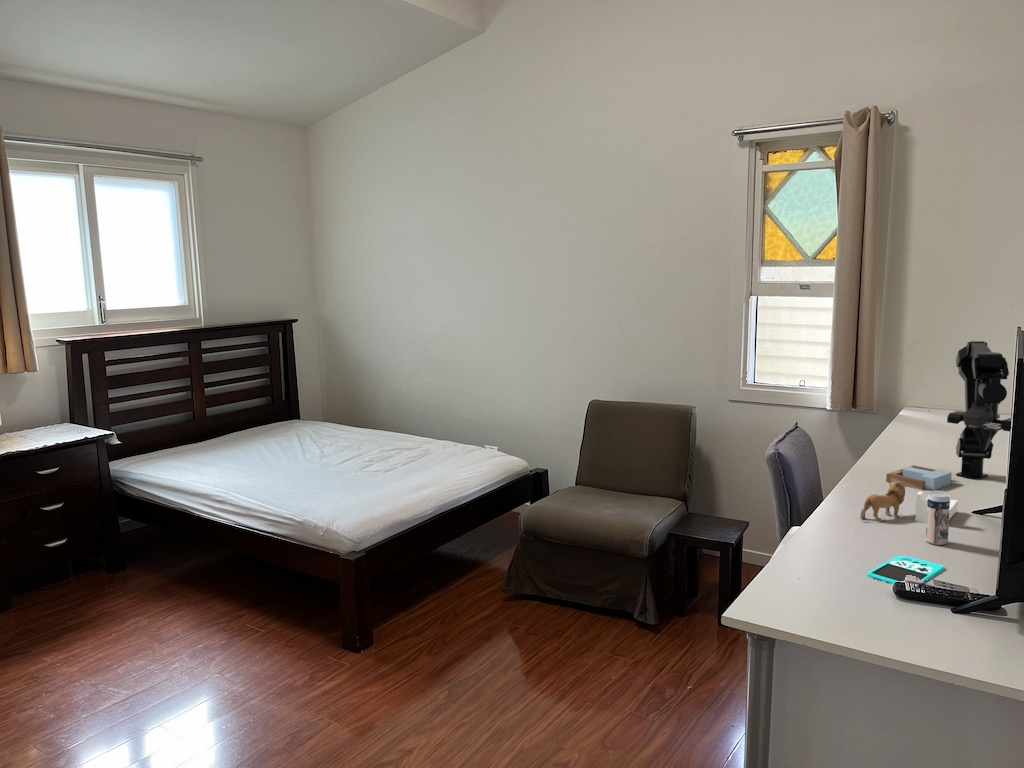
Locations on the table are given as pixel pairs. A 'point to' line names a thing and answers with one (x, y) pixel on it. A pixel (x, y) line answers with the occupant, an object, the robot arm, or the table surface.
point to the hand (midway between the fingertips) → (983, 450)
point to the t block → (929, 477)
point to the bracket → (922, 507)
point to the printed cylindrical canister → (937, 518)
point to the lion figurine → (885, 501)
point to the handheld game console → (905, 569)
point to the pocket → (907, 478)
